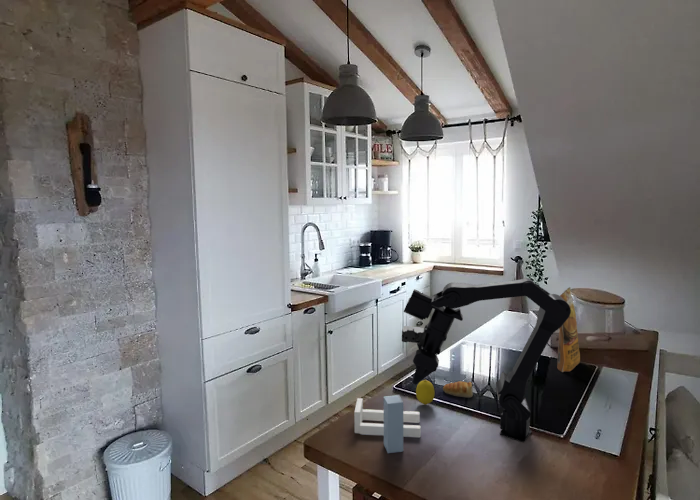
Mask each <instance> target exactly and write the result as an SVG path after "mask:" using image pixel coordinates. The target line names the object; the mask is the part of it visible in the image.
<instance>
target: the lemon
mask: <svg viewBox="0 0 700 500" xmlns="http://www.w3.org/2000/svg"><path fill="white" fill-rule="evenodd" d="M435 395H436V394H435V388H434V384H432V382H430V381H429V380H427V379H423V380H421V381H420V382H419V383H418V384H416V389H415V396H416V399H417V401H418V402H419V403H421V404H423V406H426V405H429V404H431V403H432V402H433V400H434V398H435Z"/></svg>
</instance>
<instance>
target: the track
mask: <svg viewBox="0 0 700 500" xmlns="http://www.w3.org/2000/svg"><path fill="white" fill-rule="evenodd" d="M363 403H364V399H363V397H362V398H361V397H357V398H356V402H355V406H354V407H355V409H354V416H353V417H354V419H353V420H354V434H360V435H363V436H364V435H366V436H382V437H384V423H377V422H384V409H366V408H365V409H364V404H363ZM420 416H421V415H420V411H413V410H412V411H410V410H403V423H420V422H421V421H420ZM363 421H370V422H363ZM371 421H374V422H375V423H373V422H371ZM421 433H422V430H421V425H417V424H416V425H413V424H403V438H404V437H405V438H421Z"/></svg>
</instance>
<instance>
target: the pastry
mask: <svg viewBox="0 0 700 500" xmlns="http://www.w3.org/2000/svg"><path fill="white" fill-rule="evenodd" d="M442 390H443V392H444V393H445V394H446V395H450V396H453V397H462V398H473V394H474V390H473V383H472V382H471V381H469V382H466V381H461V380H459V381H455V382H449V383H446V384H445V385H444V386H443V387H442Z"/></svg>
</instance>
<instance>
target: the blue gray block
mask: <svg viewBox="0 0 700 500" xmlns="http://www.w3.org/2000/svg"><path fill="white" fill-rule="evenodd" d="M383 410H384V421H383V424H384V436H383V446H384V448H385V450H386V453H387V454H394V453H401V452H404V437H403V425H404V422H403V411H404V401H403V399H402V398H401V396H400V394H396V395H387V396H386V395H385V396H383Z"/></svg>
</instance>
